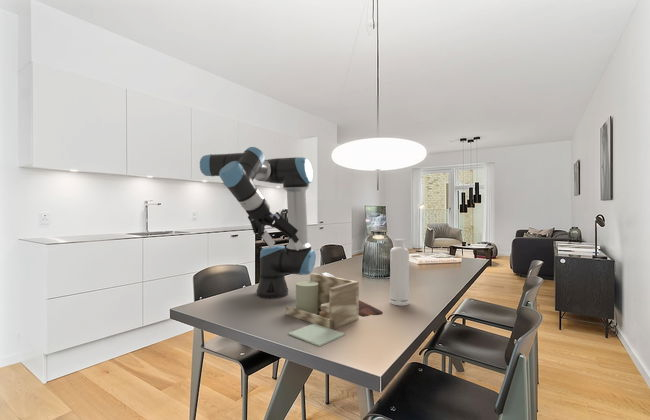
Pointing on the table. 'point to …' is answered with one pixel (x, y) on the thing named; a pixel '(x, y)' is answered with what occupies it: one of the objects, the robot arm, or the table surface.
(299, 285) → the can
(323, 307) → the offcut stack
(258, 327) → the table surface
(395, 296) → the bottle
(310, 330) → the mat
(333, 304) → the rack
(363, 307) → the wooden tablet
